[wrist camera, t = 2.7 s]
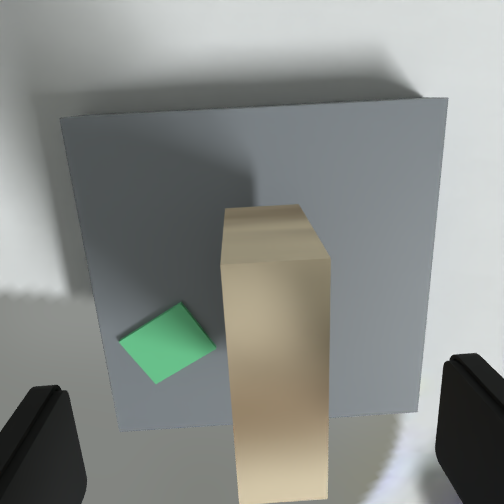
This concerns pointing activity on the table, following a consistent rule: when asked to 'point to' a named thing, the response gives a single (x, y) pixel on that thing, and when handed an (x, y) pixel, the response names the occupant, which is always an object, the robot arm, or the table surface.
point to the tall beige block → (277, 352)
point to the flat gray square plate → (211, 234)
